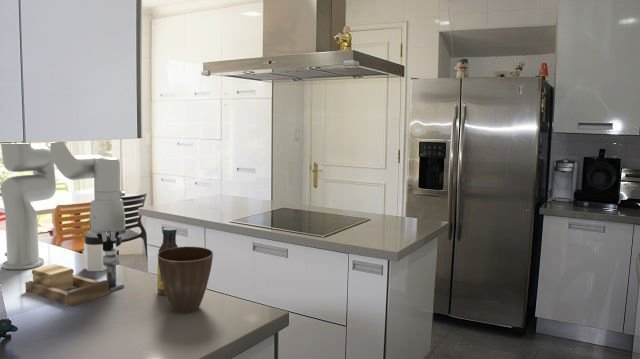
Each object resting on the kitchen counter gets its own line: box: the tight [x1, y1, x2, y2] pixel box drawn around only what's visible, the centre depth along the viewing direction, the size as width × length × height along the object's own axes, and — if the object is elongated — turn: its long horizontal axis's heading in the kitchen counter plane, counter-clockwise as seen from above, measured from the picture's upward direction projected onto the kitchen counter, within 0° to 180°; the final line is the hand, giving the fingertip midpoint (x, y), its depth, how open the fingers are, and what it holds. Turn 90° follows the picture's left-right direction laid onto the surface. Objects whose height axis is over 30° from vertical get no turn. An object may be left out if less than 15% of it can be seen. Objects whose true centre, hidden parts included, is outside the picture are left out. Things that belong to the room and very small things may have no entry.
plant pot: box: [157, 246, 214, 314], centre depth 138 cm, size 15×15×16 cm
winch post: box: [103, 254, 125, 293], centre depth 153 cm, size 5×5×10 cm
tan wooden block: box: [31, 263, 74, 291], centre depth 151 cm, size 9×7×6 cm
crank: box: [105, 235, 122, 257], centre depth 156 cm, size 12×3×4 cm, turn 8°
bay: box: [24, 274, 110, 307], centre depth 148 cm, size 22×12×4 cm, turn 61°
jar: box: [83, 232, 110, 272], centre depth 172 cm, size 9×8×12 cm
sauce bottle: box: [156, 227, 179, 296], centre depth 150 cm, size 6×6×20 cm
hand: (108, 252), depth 158 cm, fingers closed
